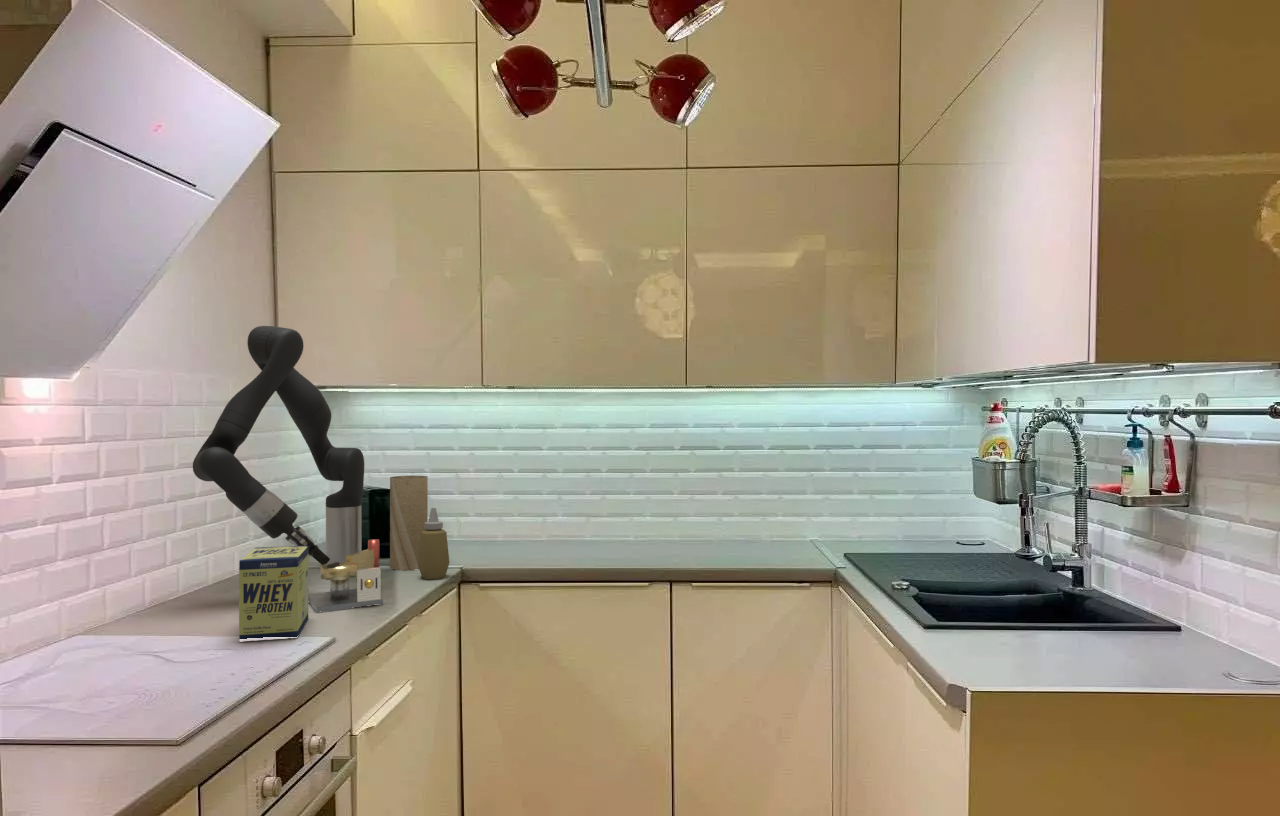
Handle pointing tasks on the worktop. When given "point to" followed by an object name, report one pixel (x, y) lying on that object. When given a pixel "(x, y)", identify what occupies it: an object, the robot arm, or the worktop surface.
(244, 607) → the protein box
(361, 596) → the stand
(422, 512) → the tube
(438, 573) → the squeeze bottle
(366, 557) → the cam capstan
